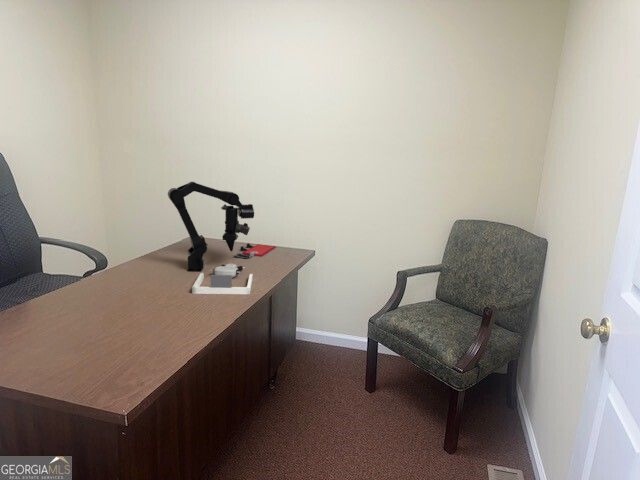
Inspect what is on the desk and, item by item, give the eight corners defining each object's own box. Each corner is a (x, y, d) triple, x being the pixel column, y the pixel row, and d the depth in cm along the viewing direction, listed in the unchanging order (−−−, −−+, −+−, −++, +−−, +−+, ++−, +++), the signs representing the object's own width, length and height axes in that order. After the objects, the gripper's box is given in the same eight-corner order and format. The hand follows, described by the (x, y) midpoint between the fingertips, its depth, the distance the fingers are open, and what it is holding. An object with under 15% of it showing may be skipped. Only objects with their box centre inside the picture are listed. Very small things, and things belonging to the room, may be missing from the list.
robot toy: (220, 271, 199) (209, 278, 184) (220, 261, 198) (209, 268, 184) (245, 273, 198) (237, 280, 183) (246, 263, 198) (237, 270, 183)
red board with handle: (229, 257, 220) (256, 261, 217) (229, 252, 220) (256, 255, 216) (252, 245, 249) (276, 248, 246) (252, 241, 248) (276, 244, 245)
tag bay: (192, 293, 166) (191, 275, 164) (200, 278, 184) (200, 261, 183) (249, 294, 168) (249, 276, 166) (252, 279, 187) (252, 262, 185)
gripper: (247, 223, 191) (246, 256, 194) (250, 216, 209) (249, 246, 212) (222, 222, 189) (222, 255, 193) (227, 215, 207) (227, 246, 211)
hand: (231, 250), depth 202 cm, fingers closed
